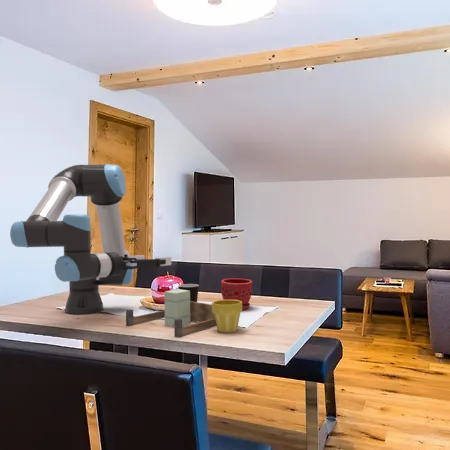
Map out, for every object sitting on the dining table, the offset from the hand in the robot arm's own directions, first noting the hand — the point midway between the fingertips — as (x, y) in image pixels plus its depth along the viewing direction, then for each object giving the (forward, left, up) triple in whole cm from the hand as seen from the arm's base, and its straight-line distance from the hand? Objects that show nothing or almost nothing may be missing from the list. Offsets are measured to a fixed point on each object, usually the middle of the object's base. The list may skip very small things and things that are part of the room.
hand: (156, 259), depth 159 cm
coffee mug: (-16, +33, -24) cm, 44 cm away
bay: (0, +7, -24) cm, 25 cm away
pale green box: (0, +10, -24) cm, 26 cm away
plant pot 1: (0, +45, -24) cm, 51 cm away
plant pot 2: (+20, +14, -24) cm, 34 cm away
